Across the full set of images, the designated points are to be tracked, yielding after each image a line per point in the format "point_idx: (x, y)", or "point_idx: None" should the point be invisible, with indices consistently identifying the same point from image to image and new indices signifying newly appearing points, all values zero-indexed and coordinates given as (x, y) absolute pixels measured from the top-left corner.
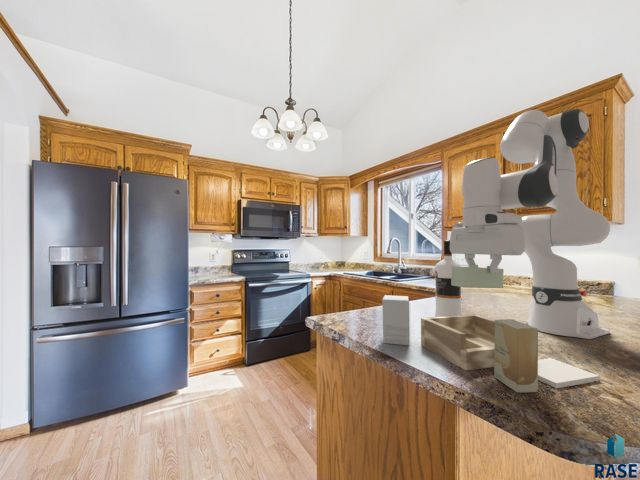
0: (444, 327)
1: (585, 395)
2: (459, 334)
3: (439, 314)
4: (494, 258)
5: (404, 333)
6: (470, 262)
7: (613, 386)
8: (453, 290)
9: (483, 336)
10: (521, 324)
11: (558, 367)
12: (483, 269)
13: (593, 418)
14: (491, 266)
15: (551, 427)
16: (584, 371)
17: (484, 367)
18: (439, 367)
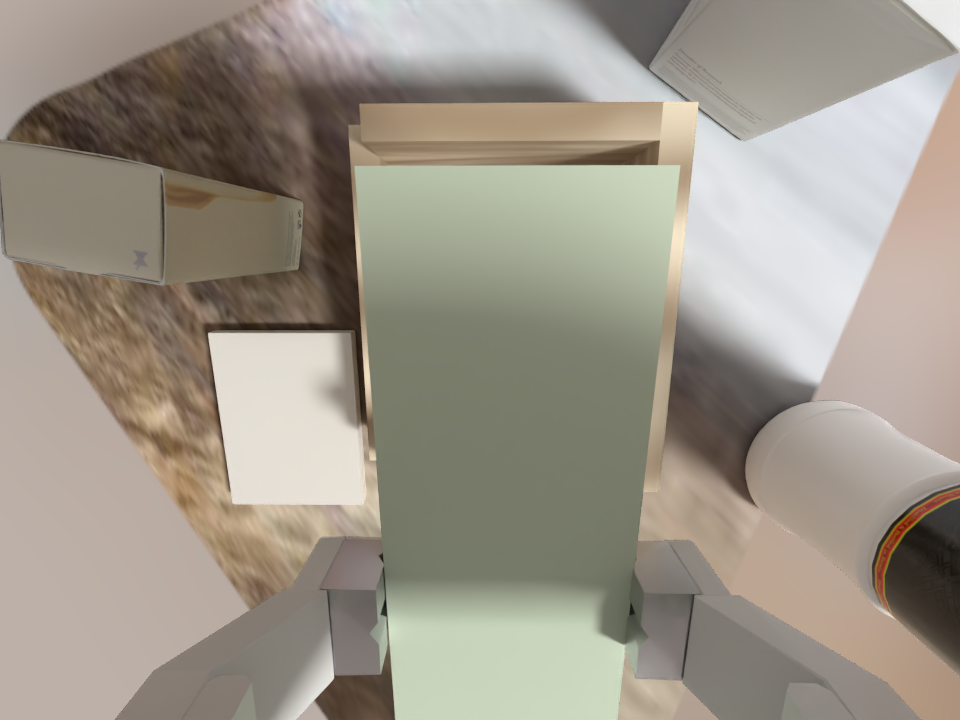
0: (482, 106)
1: (176, 368)
2: (365, 104)
3: (861, 428)
4: (148, 690)
5: (685, 19)
6: (724, 639)
7: (210, 495)
8: (936, 579)
9: None
10: (56, 227)
11: (298, 452)
12: (383, 504)
13: None
14: (297, 587)
15: (47, 106)
16: (262, 495)
17: None
18: (412, 54)
